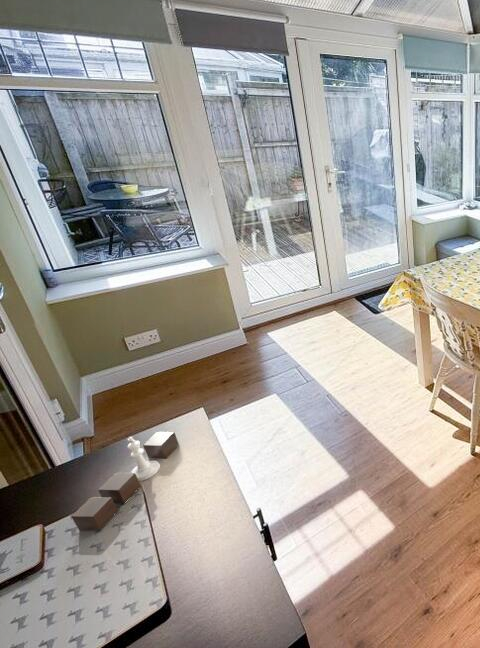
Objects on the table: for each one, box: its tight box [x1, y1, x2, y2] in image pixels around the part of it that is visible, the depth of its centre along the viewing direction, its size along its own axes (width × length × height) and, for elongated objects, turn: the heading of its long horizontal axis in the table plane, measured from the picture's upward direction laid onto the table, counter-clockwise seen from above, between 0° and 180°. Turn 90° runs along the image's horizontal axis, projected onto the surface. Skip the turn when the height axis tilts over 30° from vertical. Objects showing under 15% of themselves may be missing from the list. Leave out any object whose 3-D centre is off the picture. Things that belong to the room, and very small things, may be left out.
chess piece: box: [126, 436, 161, 482], centre depth 88 cm, size 5×5×10 cm
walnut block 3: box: [142, 431, 180, 460], centre depth 94 cm, size 4×4×4 cm
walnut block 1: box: [70, 496, 119, 532], centre depth 79 cm, size 4×4×4 cm
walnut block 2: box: [97, 472, 142, 505], centre depth 84 cm, size 4×4×4 cm
